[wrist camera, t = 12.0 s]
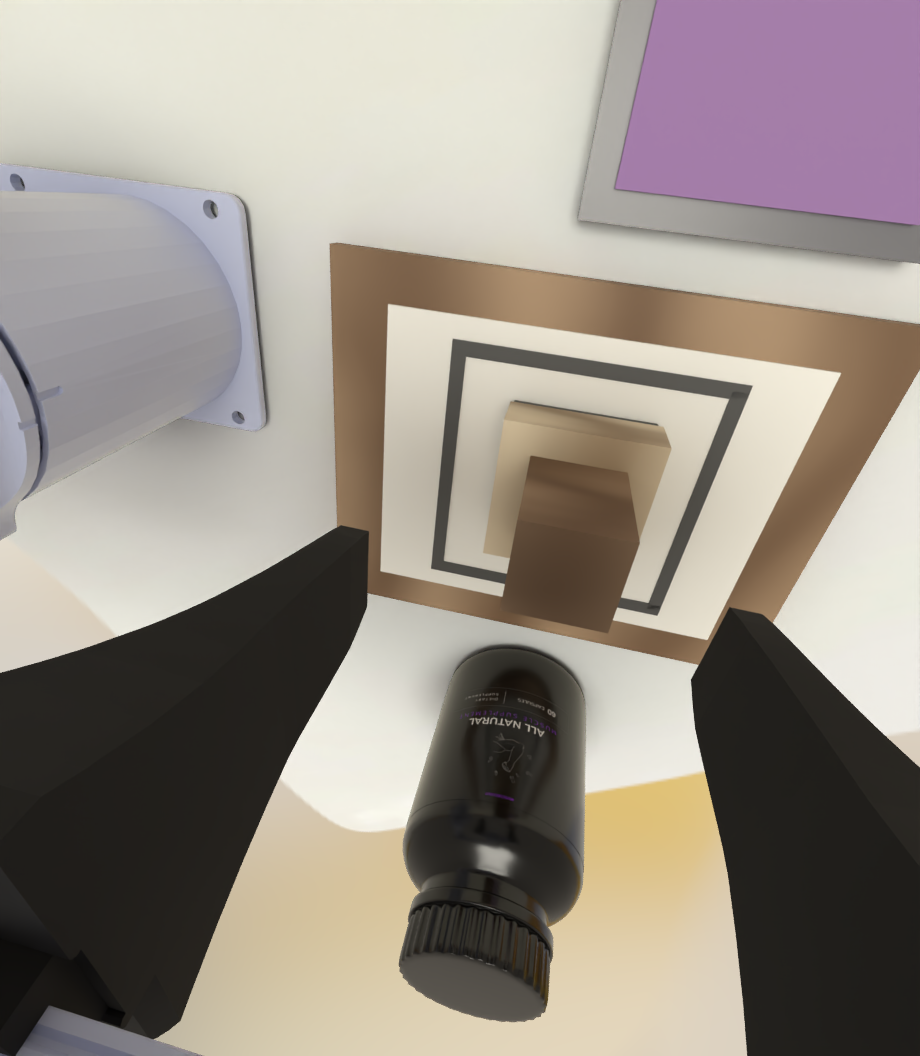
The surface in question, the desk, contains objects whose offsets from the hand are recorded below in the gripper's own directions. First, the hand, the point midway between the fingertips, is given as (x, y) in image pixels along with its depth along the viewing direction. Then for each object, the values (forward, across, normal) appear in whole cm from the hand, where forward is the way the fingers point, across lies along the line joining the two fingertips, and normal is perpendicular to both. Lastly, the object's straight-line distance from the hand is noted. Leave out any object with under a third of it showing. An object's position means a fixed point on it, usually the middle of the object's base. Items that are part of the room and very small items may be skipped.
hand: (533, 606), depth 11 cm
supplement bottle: (+10, -1, +14) cm, 17 cm away
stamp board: (+10, -1, +2) cm, 10 cm away
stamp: (+9, -1, +1) cm, 9 cm away
